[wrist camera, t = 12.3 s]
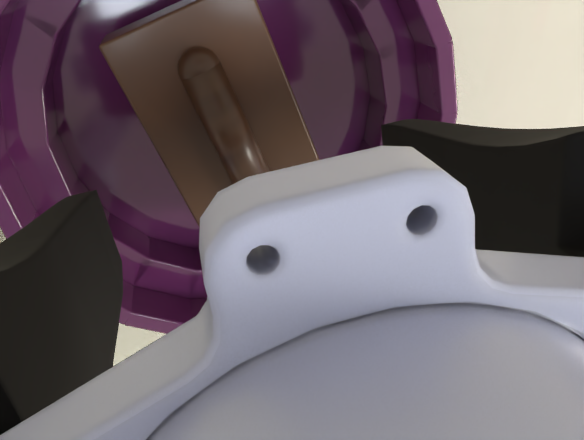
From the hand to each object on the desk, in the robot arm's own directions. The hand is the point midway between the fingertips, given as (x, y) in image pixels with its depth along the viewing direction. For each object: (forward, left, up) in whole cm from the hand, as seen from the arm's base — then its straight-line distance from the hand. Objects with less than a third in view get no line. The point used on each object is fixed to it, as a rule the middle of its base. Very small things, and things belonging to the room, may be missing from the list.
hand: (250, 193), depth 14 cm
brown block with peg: (0, 0, -7) cm, 7 cm away
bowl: (0, 0, -8) cm, 8 cm away
